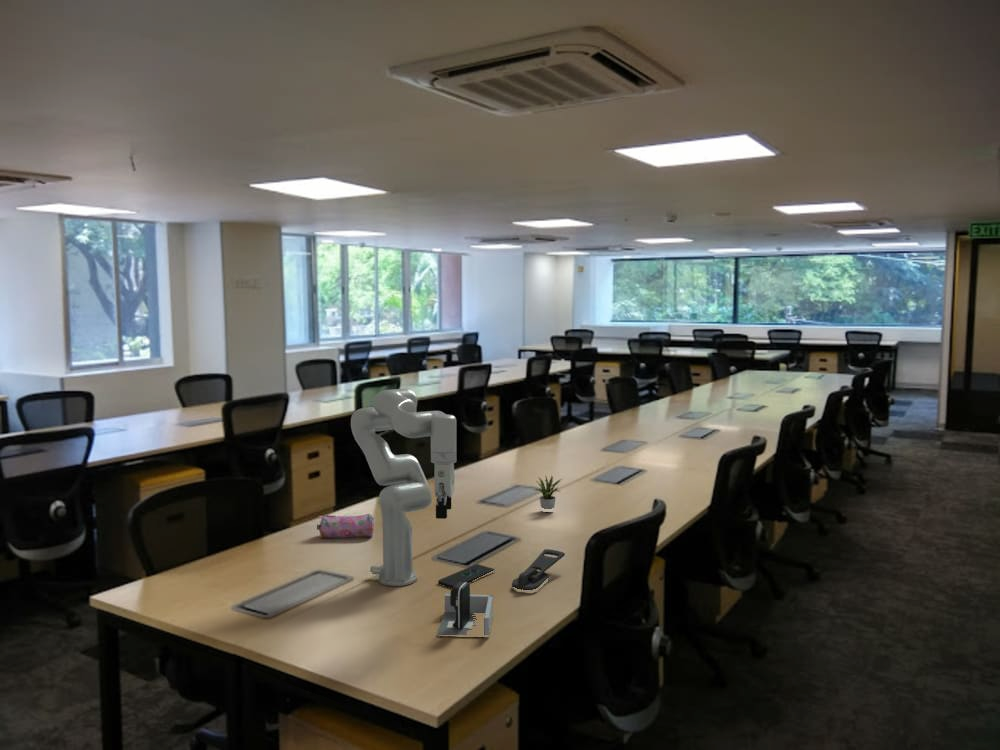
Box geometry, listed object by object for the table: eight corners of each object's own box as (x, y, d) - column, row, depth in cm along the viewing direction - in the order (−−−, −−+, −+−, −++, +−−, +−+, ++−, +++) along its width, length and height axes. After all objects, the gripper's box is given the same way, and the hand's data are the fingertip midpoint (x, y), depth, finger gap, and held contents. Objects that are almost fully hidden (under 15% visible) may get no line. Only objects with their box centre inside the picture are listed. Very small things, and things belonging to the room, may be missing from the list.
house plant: (565, 517, 314) (566, 479, 313) (533, 516, 315) (533, 479, 313) (563, 508, 328) (564, 472, 327) (532, 507, 329) (533, 471, 327)
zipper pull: (567, 552, 249) (532, 575, 227) (567, 571, 249) (532, 595, 228) (543, 547, 253) (507, 569, 232) (543, 566, 254) (507, 590, 233)
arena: (437, 636, 199) (437, 616, 199) (445, 612, 215) (445, 593, 214) (488, 638, 198) (488, 618, 198) (492, 613, 214) (492, 595, 214)
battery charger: (457, 618, 209) (457, 579, 208) (470, 619, 208) (470, 580, 207) (448, 628, 203) (448, 587, 202) (461, 629, 202) (461, 589, 201)
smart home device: (495, 568, 248) (456, 586, 232) (495, 573, 248) (456, 591, 232) (476, 563, 253) (436, 580, 237) (476, 568, 253) (436, 585, 237)
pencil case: (316, 541, 281) (316, 518, 280) (320, 534, 290) (320, 511, 289) (373, 540, 282) (372, 517, 282) (375, 533, 291) (375, 510, 291)
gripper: (452, 463, 207) (452, 522, 209) (459, 451, 224) (459, 506, 226) (426, 462, 207) (426, 521, 209) (435, 450, 225) (435, 505, 226)
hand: (443, 513), depth 217 cm, fingers open, 9 cm apart
